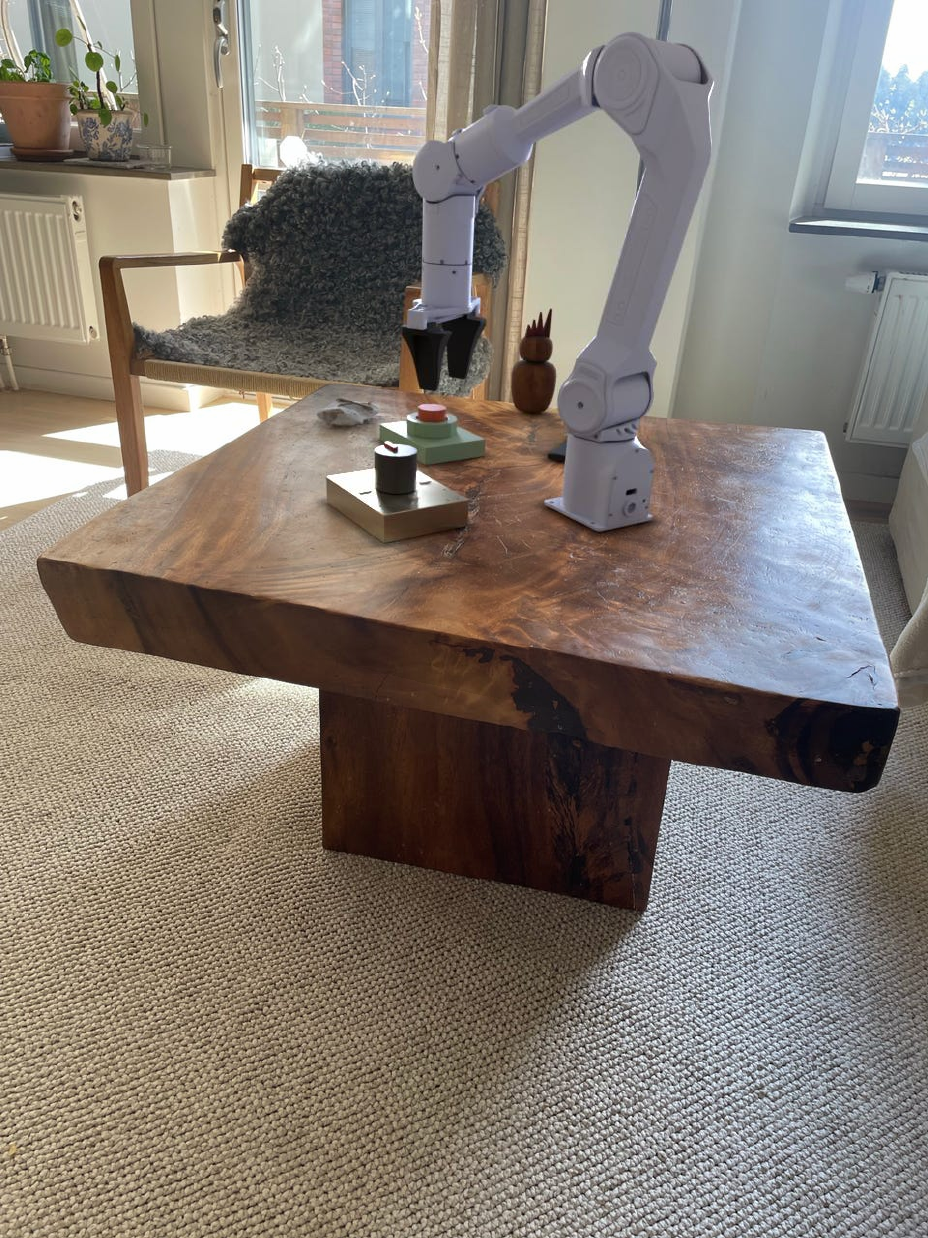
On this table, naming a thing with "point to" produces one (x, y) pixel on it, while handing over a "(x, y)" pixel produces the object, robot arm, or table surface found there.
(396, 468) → the dial
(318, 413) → the stone
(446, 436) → the button block
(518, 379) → the wooden figurine
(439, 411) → the button
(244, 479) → the table surface
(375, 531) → the panel
